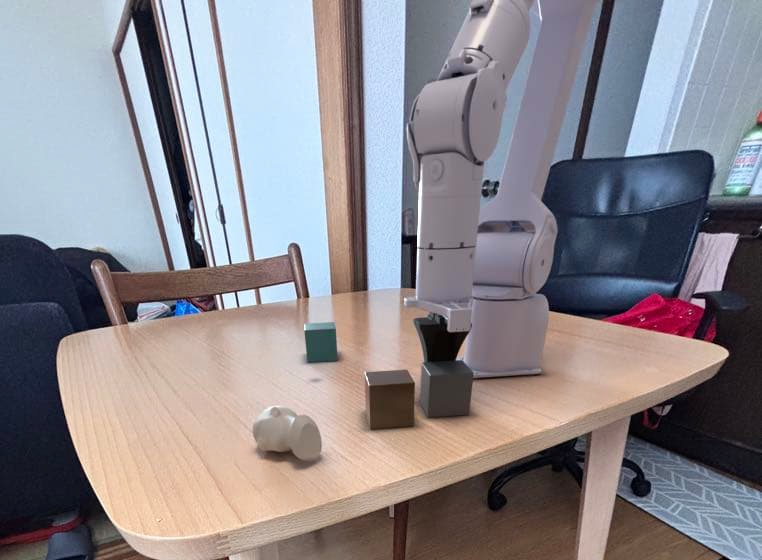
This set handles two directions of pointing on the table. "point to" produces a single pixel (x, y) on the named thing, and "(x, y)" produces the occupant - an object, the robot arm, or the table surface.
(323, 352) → the teal block
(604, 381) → the table surface
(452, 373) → the grey block
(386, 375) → the walnut block
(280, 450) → the smooth white sculpture
